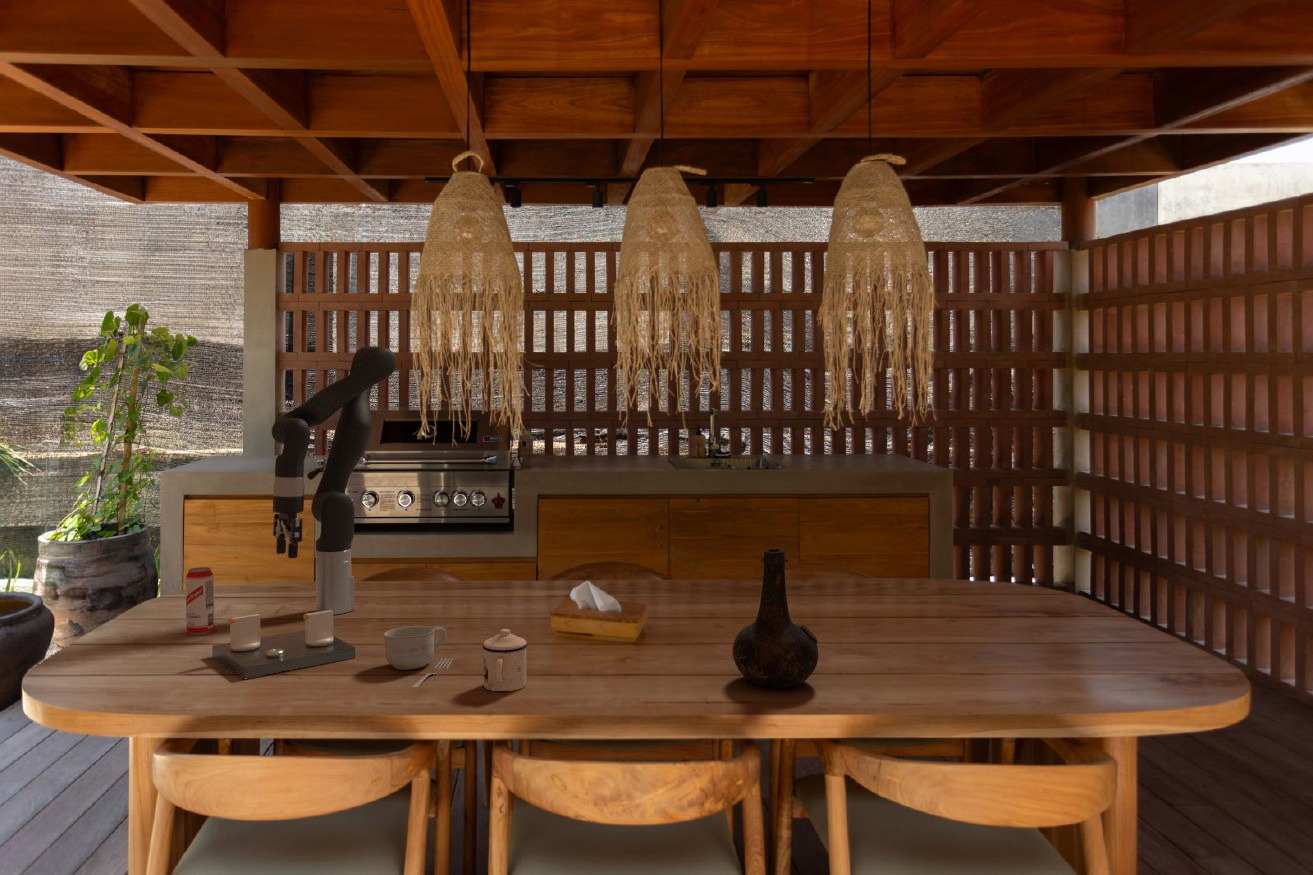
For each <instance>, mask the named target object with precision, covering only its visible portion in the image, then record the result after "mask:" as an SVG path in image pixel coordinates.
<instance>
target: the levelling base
mask: <svg viewBox="0 0 1313 875" xmlns="http://www.w3.org/2000/svg"><path fill="white" fill-rule="evenodd" d="M211 646H212V648H211V649H212V652H211V653H212V657H213V659H215V660H217V661H218V662H219V663H220V664H222V665H223V664H224V666H225V667H227V668H228V669H229V668H230V669H231V670H230V669H229V670H230V671H232V672H233V673H234V672H235V673H234V674H236V673H237V674H238V675H237V674H236V675H237V676H238V677H240V678H241V677H242V678H241V679H243V678H244V679H245V678H251V679H254V678H253V677H256V678H258V677H257V676H261V677H263V676H262V675H266V674H270V673H276V674H279V673H278V672H281V671H286V670H290V669H296V668H301V669H304V667H306V668H310V667H309V666H311V667H315V666H314V665H316V666H320V664H322V665H325V664H326V665H327V664H330V663H331V664H332V663H337V662H341V660H342V661H345V659H347V660H352V659H356V646H354V645H353V644H350V643H348V642H346V641H344V640H342V639H340V638H338V637H336V636H334V637H333V643H331V644H329V645H325V646H307V645H306V642H305V629H304V630H297V631H293V632H292V631H291V632H286V633H279V634H275V635H269V636H267V635H266V636H262V637H261V636H260V647H259V648H257V649H254V650H249V651H233V650H231V645H230V642H228V643H226V642H225V643H221V644H216V645H214V644H213V645H211ZM296 670H297V669H296ZM286 672H287V671H286ZM281 673H282V672H281ZM266 676H267V675H266ZM244 679H243V680H244Z"/></svg>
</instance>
